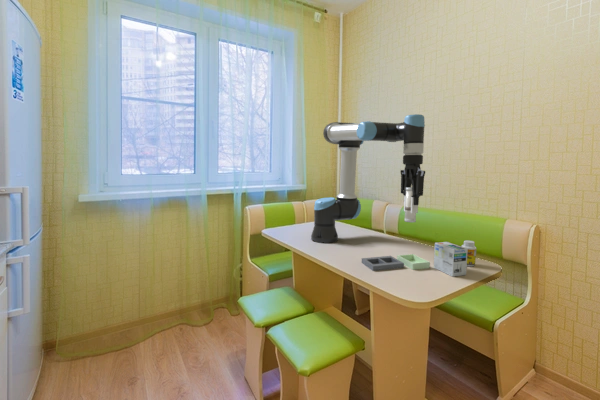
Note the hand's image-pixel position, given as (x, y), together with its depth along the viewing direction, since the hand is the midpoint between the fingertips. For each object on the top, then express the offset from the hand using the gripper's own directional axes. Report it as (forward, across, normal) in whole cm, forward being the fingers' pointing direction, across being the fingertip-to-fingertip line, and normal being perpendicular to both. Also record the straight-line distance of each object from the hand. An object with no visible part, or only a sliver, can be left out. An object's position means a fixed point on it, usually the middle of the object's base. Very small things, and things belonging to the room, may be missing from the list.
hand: (410, 211), depth 121 cm
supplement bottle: (+23, +4, +26) cm, 35 cm away
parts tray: (+23, 0, +2) cm, 23 cm away
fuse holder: (+23, -2, -11) cm, 26 cm away
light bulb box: (+23, +9, +12) cm, 28 cm away
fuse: (+4, 0, 0) cm, 4 cm away
